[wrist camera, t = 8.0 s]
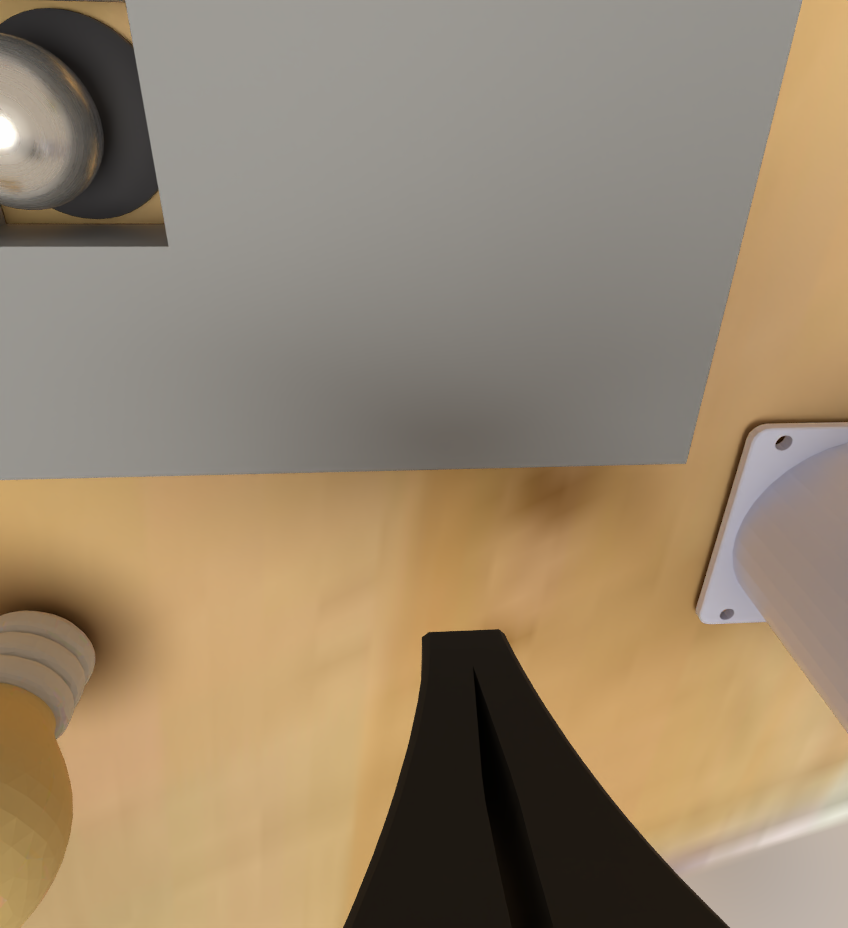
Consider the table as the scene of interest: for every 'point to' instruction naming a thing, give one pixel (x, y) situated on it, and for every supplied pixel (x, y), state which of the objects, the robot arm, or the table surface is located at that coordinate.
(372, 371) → the hole deck
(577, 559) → the table surface
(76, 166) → the steel ball
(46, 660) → the light bulb
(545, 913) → the robot arm
